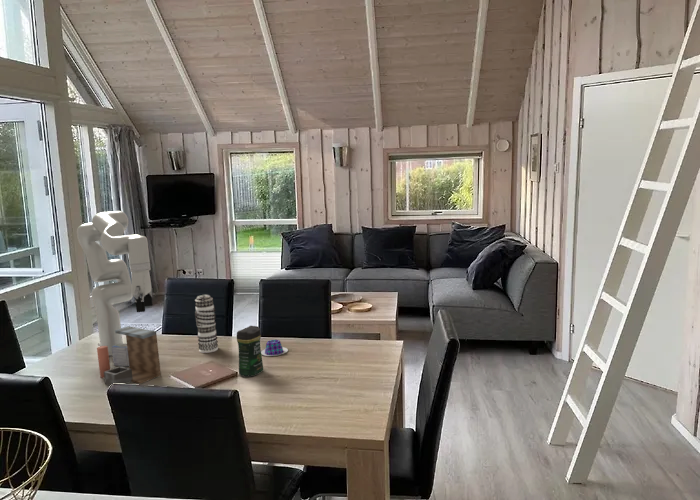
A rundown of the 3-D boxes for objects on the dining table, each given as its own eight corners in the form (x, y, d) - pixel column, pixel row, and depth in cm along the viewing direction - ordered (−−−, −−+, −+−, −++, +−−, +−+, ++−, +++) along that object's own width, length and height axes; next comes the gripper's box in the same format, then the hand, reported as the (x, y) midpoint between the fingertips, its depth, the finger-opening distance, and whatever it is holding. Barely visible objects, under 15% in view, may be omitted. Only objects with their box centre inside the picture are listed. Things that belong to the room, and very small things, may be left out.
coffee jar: (252, 378, 211) (248, 331, 208) (236, 376, 214) (232, 330, 212) (267, 369, 220) (263, 324, 217) (250, 367, 223) (247, 323, 220)
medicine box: (135, 363, 236) (133, 343, 235) (128, 367, 232) (126, 347, 231) (120, 362, 239) (118, 342, 237) (113, 365, 234) (111, 346, 233)
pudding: (284, 346, 248) (284, 335, 248) (290, 354, 237) (289, 343, 236) (258, 350, 245) (257, 339, 244) (263, 359, 233) (262, 347, 233)
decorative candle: (223, 347, 251) (218, 294, 247) (208, 354, 243) (203, 299, 239) (209, 345, 256) (204, 292, 252) (193, 351, 248) (188, 297, 244)
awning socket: (97, 381, 216) (91, 337, 214) (133, 368, 230) (128, 326, 227) (124, 390, 206) (119, 343, 204) (160, 375, 220) (156, 331, 217)
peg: (98, 376, 222) (94, 348, 220) (107, 373, 225) (103, 345, 224) (104, 378, 220) (100, 349, 218) (113, 375, 223) (109, 346, 221)
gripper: (137, 264, 228) (142, 304, 231) (123, 271, 211) (128, 314, 214) (156, 262, 229) (160, 303, 231) (143, 270, 212) (147, 313, 214)
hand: (144, 308), depth 222 cm, fingers open, 9 cm apart
